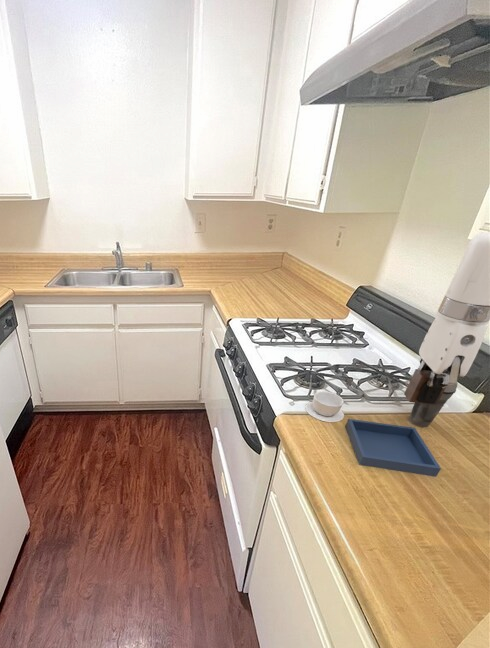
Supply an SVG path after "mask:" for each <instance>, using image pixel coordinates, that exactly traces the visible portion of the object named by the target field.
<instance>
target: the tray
mask: <svg viewBox="0 0 490 648" xmlns="http://www.w3.org/2000/svg"><path fill="white" fill-rule="evenodd" d="M344 427H345V430H346V433H347V435H348V438H349V441H350V444H351V446H352V449H353V452H354V454H355V457H356V460H357V463H358V465H359V466H362V467H363V466H364V467H369V468H370V467H371V468H377V469H383V470H390V471H395V472H402V473H409V474H414V475H422V476H428V477H435V478H436V477H437V476H438V475H439V473H440V471H441V470H442V467H441V466H440V464H439V463H438V461H437V460H436V458H435V456H434V455H433V453H432V451H431V450H430V449H429V447H428V446H427V444H426V443H425V441H424V440H423V438H422V437H421V435H420V433H419V432H418V430H417V429H416V427H412V426H405V425H398V424H390V423H384V422H383V423H382V422H375V421H369V420H361V419H353V418H352V419H351V418H348V419H347V420H346V423H345V425H344Z"/></svg>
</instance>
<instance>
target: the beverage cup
mask: <svg viewBox="0 0 490 648" xmlns="http://www.w3.org/2000/svg"><path fill="white" fill-rule="evenodd" d="M443 371H447V370H445V369H444V370H443ZM457 388H458V381H457V382H456V384H455V385H447V387H446V388H445V390H444V392H443V394H442V396H441V398H440V399H439V401H438V403H437V405H430V404H421V403H413V405H412V408H411V411H410V414H409V418H408V421H409V422H410V423H411V424H412V425H414V426H416V427H419V428H428V427H429V426H430V425H431V424H432V423H433V421H434V420H435V419H436V417H437V416H438V414H439V413H440V411H441V410H442V409H443V407H444V405H445V404H446V403H447V401H448V400H450V398H452V396H453V395H454V394H456V392H457Z"/></svg>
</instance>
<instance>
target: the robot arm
mask: <svg viewBox="0 0 490 648" xmlns="http://www.w3.org/2000/svg"><path fill="white" fill-rule="evenodd" d="M489 322H490V231H481V232H479V233H477V234H476V235H474V236H473V237H472V238H471V239H470V241H469V243H468V245H467V247H466V249H465V251H464V253H463V256H462V257H461V260H460V262H459V264H458V266H457V268H456V271H455V273H454V275H453V277H452V279H451V281H450V284H449V285H448V287H447V290H446V292H445V294H444V296H443V298H442V301H441V303H440V304H439V307H438V309H437V311H436V317H435V318H434V320H433V321H432V323H431V325H430V326H429V329H427V330H428V331H427V332H426V334H425V336H424V338H423V340H422V342H421V344H420V347H419V350H418V355H419V357H420V360H419V365H418V368H417V369H419V370H428V371H432V373H431V375H430V378H429V380H428V382H427V384H424V385H423V387H422V389H421V391H420V393H419V395H418V397H417V401H418V402H422V403H430V404H434V403H435V402H436V400H437V398H438V396H439V395H440V393H441V391H442V389H443V388H445V387H446V386H447V385H455V384H456V382H457V383H458V377H459V378H464V377H465V376H466V375H467V374H468V372H469V371H470V369H471V368H472V365H473V363H474V361H475V359H476V357H477V355H478V353H479V350H480V348H481V345H482V343H483V341H484V339H485V335H486V332H487V328H488V323H489ZM444 369H445V370H446V371H443V370H444ZM437 375H441V376H443V378H437V379H436V377H437Z"/></svg>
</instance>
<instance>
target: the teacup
mask: <svg viewBox="0 0 490 648" xmlns="http://www.w3.org/2000/svg"><path fill="white" fill-rule="evenodd" d="M344 403H345V402H344V399H343V398H342V397H341V396H340V395H338V394H336V393H334V392H331V391H325V390H321V391H317V392H315V393H314V395H313V399H312V401H310V402H308V403H306V404H305V406H304V408H305V412H306V413H308V415H310V416H311V417H312V418H314V419H316V420H318V421H322V422H326V423H337V422H340V421H343V420H344V419H345V413H344V412H343V410H342V407H343V405H344Z"/></svg>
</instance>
